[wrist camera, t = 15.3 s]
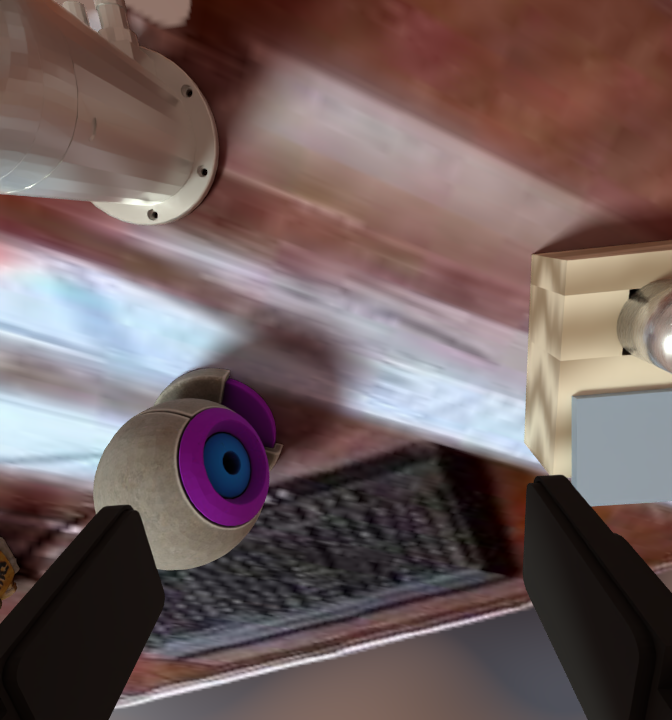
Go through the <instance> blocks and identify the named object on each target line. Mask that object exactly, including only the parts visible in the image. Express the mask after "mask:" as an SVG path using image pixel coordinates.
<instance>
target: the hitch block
mask: <svg viewBox="0 0 672 720" xmlns="http://www.w3.org/2000/svg"><path fill="white" fill-rule="evenodd" d="M663 279H672V240H665V241H655V242H646V243H636V244H627V245H617V246H608V247H598V248H588V249H579V250H569V251H560V252H550V253H541V254H532V263H531V287H530V312H529V337H528V361H527V386H526V410H525V435H524V443H525V444H526V445H527V447H528V448H529V449H530V451H531V452H532V453H533V454H534V456H535V457H536V458H537V459H538V461H539V462H540V463H541V465H542V466H543V467H544V468H545V470H546V471H547V472H548V473H549V475H564V476H565V477H566V478H569V477H572V396H580V395H592V394H605V393H617V392H629V391H642V390H654V389H666V388H672V374H671V373H669V372H667V371H665V370H663V369H661V368H658V367H656V366H654V365H652V364H650V363H648V362H646V361H644V360H641V359H639V358H637V357H635V356H633V355H631V354H630V353H628V352H627V351H626V350H625V349H624V348H623V347H622V345H621V344H620V342H619V339H618V336H617V320H618V316H619V313H620V311H621V309H622V307H623V306H624V304H625V303H626V301H627V300H628V299H629V290H630V289H640V288H642V287H643V286H645V285H647V284H649V283H652V282H654V281H658V280H663Z"/></svg>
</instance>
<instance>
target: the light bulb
mask: <svg viewBox="0 0 672 720" xmlns="http://www.w3.org/2000/svg"><path fill="white" fill-rule="evenodd" d="M617 336H618V339H619V342H620V344H621V345H622V347H623V348H624V349H625V350H626V351H627V352H628V353H630V354H631V355H633V356H635V357H637V358H639V359H641V360H644V361H646V362H648V363H650V364H652V365H654V366H656V367H658V368H661V369H663V370H665V371H667V372H669V373H671V374H672V279H663V280H658V281H654V282H652V283H649V284H647V285H645V286H643V287H642V288H640V289H630V290H629V299H628V300H627V301H626V303H625V304H624V306H623V307H622V309H621V311H620V313H619V316H618V320H617Z"/></svg>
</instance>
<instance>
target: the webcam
mask: <svg viewBox="0 0 672 720" xmlns="http://www.w3.org/2000/svg"><path fill="white" fill-rule="evenodd" d="M229 374H230V370H225V369H218V368H207V369H200V370H195V371H192V372H189V373H187V374H184V375H182V376H181V377H179V378H177V379H176V380H175V381H173V382H172V383H171V384H170V385H169V386H168V387H167V388H165V389H164V391H163V392H162V393H161V394H160V396H159V397H158V399H157V400H156V402H155V404H154V406H153V407H151V408H149V409H147V410H145V411H143V412H141V413H139V414H138V415H136V416H134V417H133V418H131V419H130V420H129V421H128V422H126V423H125V424H124V425H123V426H122V427H121V428H120V429H119V430H118V432H117V433H116V434H115V435H114V437H113V438H112V440H111V441H110V443H109V444H108V446H107V447H106V449H105V450H104V452H103V455H102V457H101V459H100V462H99V464H98V467H97V471H96V474H95V480H94V489H93V498H94V505H95V511H96V514H97V513H98V512H99V511H100V510H101V509H102V508H103V507H105V506H113V505H131V506H132V507H133V509H134V510H137V511H138V512H139V513H140V516H141V519H142V522H143V525H144V529H145V532H146V535H147V538H148V542H149V545H150V548H151V551H152V555H153V558H154V561H155V564H156V567H157V569H162V570H182V569H189V568H194V567H198V566H202V565H205V564H207V563H209V562H212V561H214V560H216V559H218V558H220V557H221V556H223V555H225V554H226V553H228V552H229V551H230V550H231V549H233V548H234V547H235V546H236V545H237V544H239V543H240V542H241V540H242V539H243V538H244V537H245V536H246V535H247V534H248V532H249V531H250V530H251V528H252V527H253V525H254V524H255V522H256V520H257V518H258V517H259V514H260V512H261V510H262V507H263V504H264V502H265V499H266V496H267V492H268V487H269V472H270V471H271V470H272V468H273V467H274V465H275V464H276V462H277V460H278V458H279V455H280V453H281V450H282V447H283V445H282V444H278V443H275V440H276V426H275V421H274V418H273V415H272V412H271V410H270V409H269V407H268V405H267V404H266V402H265V401H264V400H263V399H262V398H261V396H260V395H259V394H257V393H256V392H255V391H254V390H253V389H251V388H250V387H248V386H247V385H245V384H243V383H241V382H239V381H236V380H233V379H230V378H229ZM274 444H275V446H274Z"/></svg>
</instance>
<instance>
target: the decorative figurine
mask: <svg viewBox="0 0 672 720" xmlns="http://www.w3.org/2000/svg"><path fill="white" fill-rule="evenodd" d="M19 569H20V568H19V566H18V565H17V562H16V558H14V556H13V554H12V552H11V551H10V549H9V547H8V546H7V544H6V542H5V540H4V539H3V538H1V537H0V609H1V606H2V600H3V599H5V598H8V597H10V596H11V595H12V594H14V592H15V591H16V589H17V586H16V583H15V582H14V580H13V577H14V574H15V573H17V572H18V571H19Z"/></svg>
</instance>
